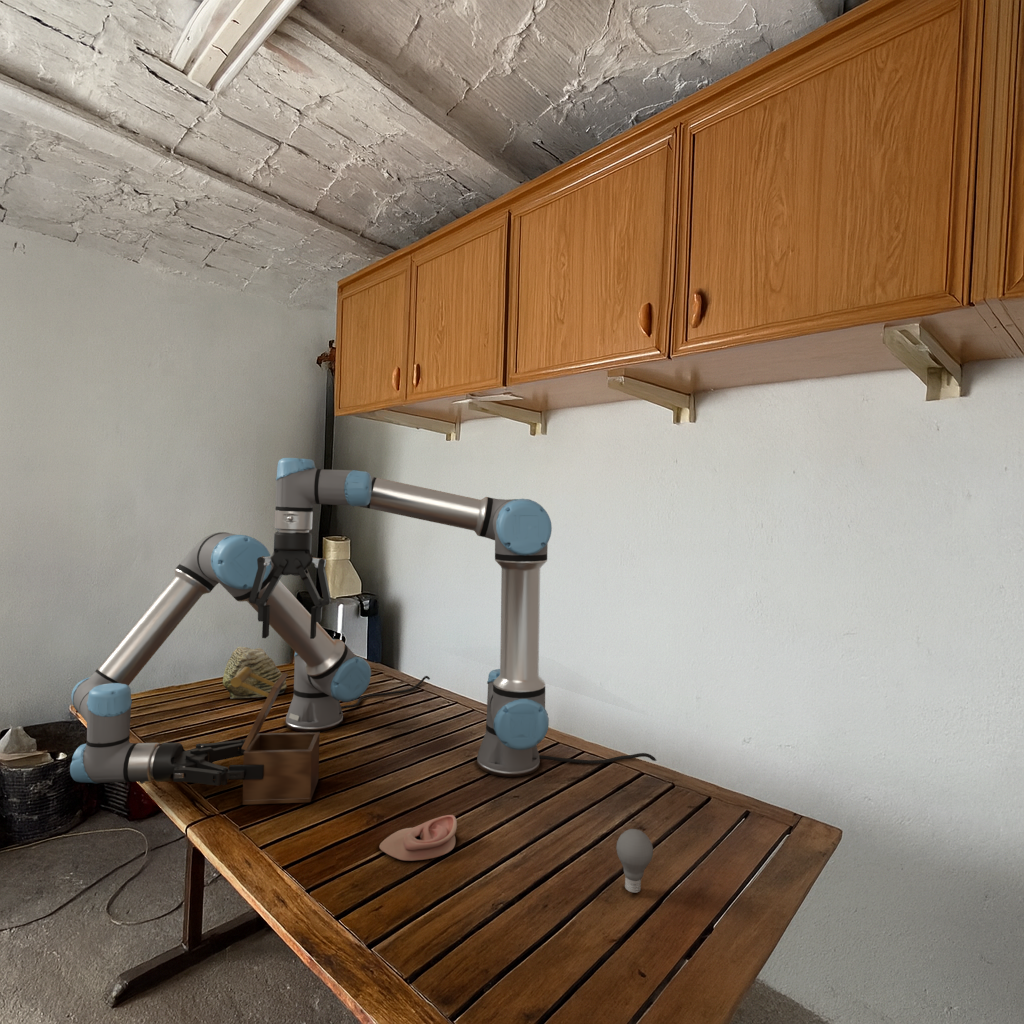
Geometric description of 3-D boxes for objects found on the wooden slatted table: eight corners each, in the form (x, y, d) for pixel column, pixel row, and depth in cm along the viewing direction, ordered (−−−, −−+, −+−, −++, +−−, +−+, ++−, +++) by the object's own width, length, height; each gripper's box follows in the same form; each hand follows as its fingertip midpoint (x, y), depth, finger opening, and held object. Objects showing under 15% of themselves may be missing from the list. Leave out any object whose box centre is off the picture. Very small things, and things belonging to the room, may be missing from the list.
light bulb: (610, 879, 108) (613, 822, 108) (644, 879, 109) (647, 822, 109) (619, 902, 102) (622, 840, 102) (655, 901, 103) (658, 840, 103)
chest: (318, 780, 141) (319, 732, 141) (310, 802, 131) (311, 750, 131) (255, 782, 139) (256, 733, 139) (242, 804, 129) (243, 752, 129)
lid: (288, 674, 140) (249, 656, 138) (277, 688, 129) (235, 669, 128) (259, 731, 139) (219, 715, 138) (246, 750, 129) (203, 732, 127)
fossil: (218, 695, 195) (220, 647, 195) (278, 685, 208) (279, 640, 207) (228, 703, 189) (230, 653, 188) (289, 692, 201) (290, 645, 201)
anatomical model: (372, 833, 112) (397, 803, 124) (372, 855, 112) (396, 824, 124) (444, 845, 110) (462, 813, 121) (443, 867, 110) (462, 834, 121)
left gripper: (178, 757, 143) (280, 756, 146) (132, 806, 120) (254, 804, 123) (179, 724, 143) (281, 724, 146) (134, 767, 120) (256, 765, 123)
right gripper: (234, 530, 129) (230, 640, 129) (343, 534, 132) (339, 641, 132) (244, 528, 136) (240, 632, 137) (348, 532, 139) (344, 633, 140)
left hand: (269, 760), depth 134 cm, fingers closed on chest, 10 cm apart
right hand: (289, 637), depth 134 cm, fingers open, 9 cm apart
